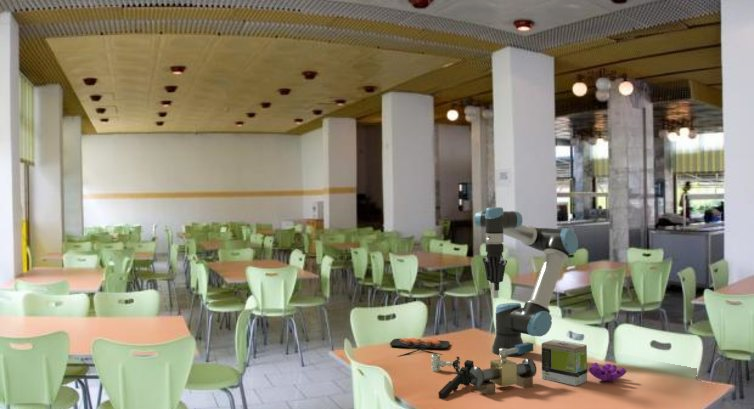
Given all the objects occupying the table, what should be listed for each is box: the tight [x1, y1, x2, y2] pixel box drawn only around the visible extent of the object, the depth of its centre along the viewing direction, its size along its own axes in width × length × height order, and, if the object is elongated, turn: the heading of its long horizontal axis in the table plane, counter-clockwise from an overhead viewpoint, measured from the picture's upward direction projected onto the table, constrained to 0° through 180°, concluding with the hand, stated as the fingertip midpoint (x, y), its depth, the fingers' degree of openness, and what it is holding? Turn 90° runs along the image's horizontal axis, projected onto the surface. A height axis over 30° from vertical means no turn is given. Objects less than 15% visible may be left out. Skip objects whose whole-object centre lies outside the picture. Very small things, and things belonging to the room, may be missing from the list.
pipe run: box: [470, 357, 537, 396], centre depth 230 cm, size 27×8×12 cm, turn 116°
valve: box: [430, 353, 461, 373], centre depth 253 cm, size 7×7×12 cm
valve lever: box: [498, 342, 534, 359], centre depth 234 cm, size 18×3×3 cm, turn 126°
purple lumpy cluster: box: [588, 362, 627, 382], centre depth 238 cm, size 11×15×10 cm
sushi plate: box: [389, 337, 451, 357], centre depth 289 cm, size 29×30×4 cm
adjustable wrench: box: [438, 359, 475, 400], centre depth 228 cm, size 8×3×25 cm
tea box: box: [541, 339, 588, 387], centre depth 239 cm, size 15×10×15 cm, turn 44°
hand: (494, 297), depth 257 cm, fingers closed
